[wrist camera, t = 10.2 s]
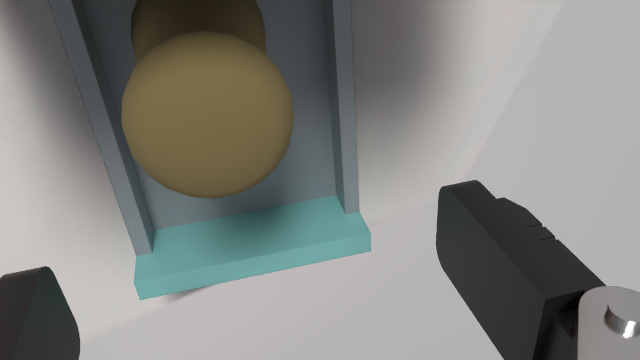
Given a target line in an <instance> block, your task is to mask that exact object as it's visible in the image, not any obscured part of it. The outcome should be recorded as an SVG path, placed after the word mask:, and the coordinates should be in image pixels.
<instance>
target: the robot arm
mask: <svg viewBox="0 0 640 360" xmlns="http://www.w3.org/2000/svg"><path fill="white" fill-rule="evenodd" d="M436 249H437V254H438V258H439V261H440V264H441V266H442V268H443V270H444V272H445V273H446V274H447V276H448V277H449V279H450V280H451V282H452V283H453V285H454V286H455V288H456V289H457V291H458V292H459V294H460V295H461V297H462V298H463V300H464V301H465V302H466V304H467V306H468V307H469V309H470V310H471V311H472V313H473V314H474V316H475V317H476V319H477V320H478V322H479V323H480V325H481V326H482V328H483V329H484V330H485V332H486V333H487V335H488V336H489V338H490V339H491V341H492V342H493V344H494V345H495V347H496V348H497V350H498V351H499V353H500V354H501V356H502V357H503V359H504V360H640V293H639V292H637V291H634V290H631V289H627V288H622V287H617V286H606V285H605V284H604V283H603V282H602V281H601V280H600V279H599V278H598V277H597V276H596V275H595V274H594V273H593V272H592V271H591V270H589V269H588V268H587V267H586V266H585V265H584V264H583V263H582V262H581V261H580V260H579V259H578V258H577V257H576V256H575V255H574V254H573V253H572V252H571V251H570V250H569V249H568V248H567V247H566V246H565V245H563V244H562V243H561V242H560V241H559V240H556V239H555V236H554V235H553V234H552V233H551V232H550V231H549V230H548V229H547V228H546V227H543V226H542V223H541V222H540V221H538V219H536V218H535V217H534V216H533V215H532V214H531V213H530V212H529V211H528V210H527V209H526V208H524V207H522V206H520V205H518V204H516V203H514V202H512V201H510V200H508V199H506V198H499V199H496V198H495V197H494V196H493V195H492V194H491V193H490V192H489V191H488V190H487V189H486V188H485V187H484V186H483V185H482V184H481V183H480V182H479V181H477V180H472V181H467V182H462V183H458V184H453V185H448V186H443V187H442V188H441V189H440V192H439V199H438V217H437V234H436ZM79 354H80V337H79V331H78V327H77V323H76V321H75V318H74V316H73V314H72V312H71V310H70V308H69V305H68V303H67V301H66V299H65V297H64V295H63V292H62V290H61V288H60V286H59V284H58V282H57V279H56V277H55V275H54V273H53V272H52V270H51V269H50V268H49V267H46V266H45V267H40V268H35V269H30V270H25V271H21V272H16V273H11V274H6V275H3V276H2V277H1V278H0V360H79Z"/></svg>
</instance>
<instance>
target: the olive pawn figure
mask: <svg viewBox="0 0 640 360" xmlns="http://www.w3.org/2000/svg"><path fill="white" fill-rule="evenodd" d="M131 39H132V44H133V49H134V53H135V58H136V62H137V66H136V67H135V68H134V70H133V72H132V75H131V77H130V80H129V82H128V84H127V87H126V89H125V92H124V95H123V98H122V123H121V125H122V128H123V131H124V134H125V137H126V140H127V143H128V146H129V149H130V151H131V154H132V156H133V157H134V159H135V160H136V161H137V162H138V164H139V165H140V166H141V168H142V169H143V170H144V171H145V173H146V174H147V175H148V176H149V177H151V178H152V179H154V180H155V181H157V182H158V183H160V184H161V185H163V186H164V187H165V188H167V189H169V190H172V191H175V192H178V193H181V194H184V195H187V196H190V197H194V198H211V199H218V198H222V197H227V196H232V195H237V194H239V193H241V192H243V191H245V190H247V189H249V188H251V187H253V186H255V185H257V184H259V183H261V182H262V181H263V180H264V179H265V178H266V177H267V176H268V175H269V174H270V173H271V172H272V171H274V170H275V169H276V168H277V167H278V165H279V163H280V162H281V160H282V158H283V156H284V155H285V153H286V151H287V149H288V148H289V144H290V139H291V134H292V129H293V123H294V112H293V105H292V98H291V93H290V91H289V89H288V87H287V85H286V83H285V81H284V79H283V77H282V75H281V73H280V71H279V69H278V68H277V66H276V65H275V64H274V63H273V62H272V61H271V60H270V59H269V58H268V57H267V56H266V35H265V28H264V22H263V15H262V13H261V11H260V9H259V7H258V5H257V3H256V1H255V0H137V2H136V5H135V7H134V10H133V12H132V16H131Z"/></svg>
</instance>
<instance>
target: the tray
mask: <svg viewBox="0 0 640 360" xmlns="http://www.w3.org/2000/svg"><path fill="white" fill-rule="evenodd" d="M48 1H49V3H50V6H51V9H52V12H53V15H54V18H55V21H56V24H57V27H58V30H59V33H60V35H61V38H62V41H63V44H64V47H65V50H66V53H67V56H68V59H69V62H70V64H71V67H72V70H73V73H74V76H75V79H76V82H77V85H78V88H79V91H80V94H81V96H82V99H83V102H84V105H85V108H86V111H87V114H88V117H89V120H90V123H91V126H92V128H93V131H94V134H95V137H96V140H97V143H98V146H99V149H100V152H101V155H102V157H103V160H104V163H105V166H106V169H107V172H108V175H109V178H110V181H111V184H112V187H113V189H114V192H115V195H116V198H117V201H118V204H119V207H120V210H121V213H122V216H123V219H124V221H125V224H126V227H127V230H128V233H129V236H130V239H131V242H132V245H133V248H134V250H135V253H136V256H137V257H136V266H135V276H134V284H135V287H136V290H137V293H138V295H139V298H140V300H144V299H148V298H153V297H158V296H162V295H167V294H172V293H176V292H181V291H186V290H190V289H195V288H200V287H205V286H209V285H214V284H219V283H223V282H228V281H232V280H237V279H242V278H247V277H251V276H256V275H261V274H265V273H270V272H275V271H279V270H284V269H289V268H294V267H298V266H303V265H308V264H312V263H317V262H322V261H326V260H331V259H336V258H340V257H345V256H350V255H355V254H359V253H364V252H369V251H371V233H370V231H369V229H368V227H367V225H366V223H365V222H364V220H363V218H362V216H361V214H360V212H359V190H358V166H357V142H356V118H355V94H354V70H353V46H352V22H351V0H255V1H256V3H257V5H258V7H259V9H260V11H261V13H262V15H263V22H264V28H265V35H266V56H267V57H268V58H269V59H270V60H271V61H272V62H273V63H274V64H275V65H276V66H277V68H278V69H279V71H280V73H281V75H282V77H283V79H284V81H285V83H286V85H287V87H288V89H289V91H290V93H291V98H292V105H293V112H294V123H293V129H292V134H291V139H290V144H289V148H288V149H287V151H286V153H285V155H284V156H283V158H282V160H281V162H280V163H279V165H278V167H277V168H276V169H275V170H274V171H272V172H271V173H270V174H269V175H268V176H267V177H266V178H265V179H264V180H263V181H262V182H261V183H259V184H257V185H255V186H253V187H251V188H249V189H247V190H245V191H243V192H241V193H239V194H237V195H232V196H227V197H222V198H218V199H211V198H194V197H190V196H187V195H184V194H181V193H178V192H175V191H172V190H169V189H167V188H165V187H164V186H163V185H161V184H160V183H158V182H157V181H155V180H154V179H152V178H151V177H149V176H148V175H147V174H146V173H145V171H144V170H143V169H142V168H141V166H140V165H139V164H138V162H137V161H136V160H135V159H134V157H133V156H132V154H131V151H130V149H129V146H128V143H127V140H126V137H125V134H124V131H123V128H122V125H121V123H122V98H123V95H124V92H125V89H126V87H127V84H128V82H129V80H130V77H131V75H132V72H133V70H134V68H135V67H136V66H137V62H136V58H135V53H134V49H133V44H132V39H131V16H132V12H133V10H134V7H135V5H136V2H137V0H48Z"/></svg>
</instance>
